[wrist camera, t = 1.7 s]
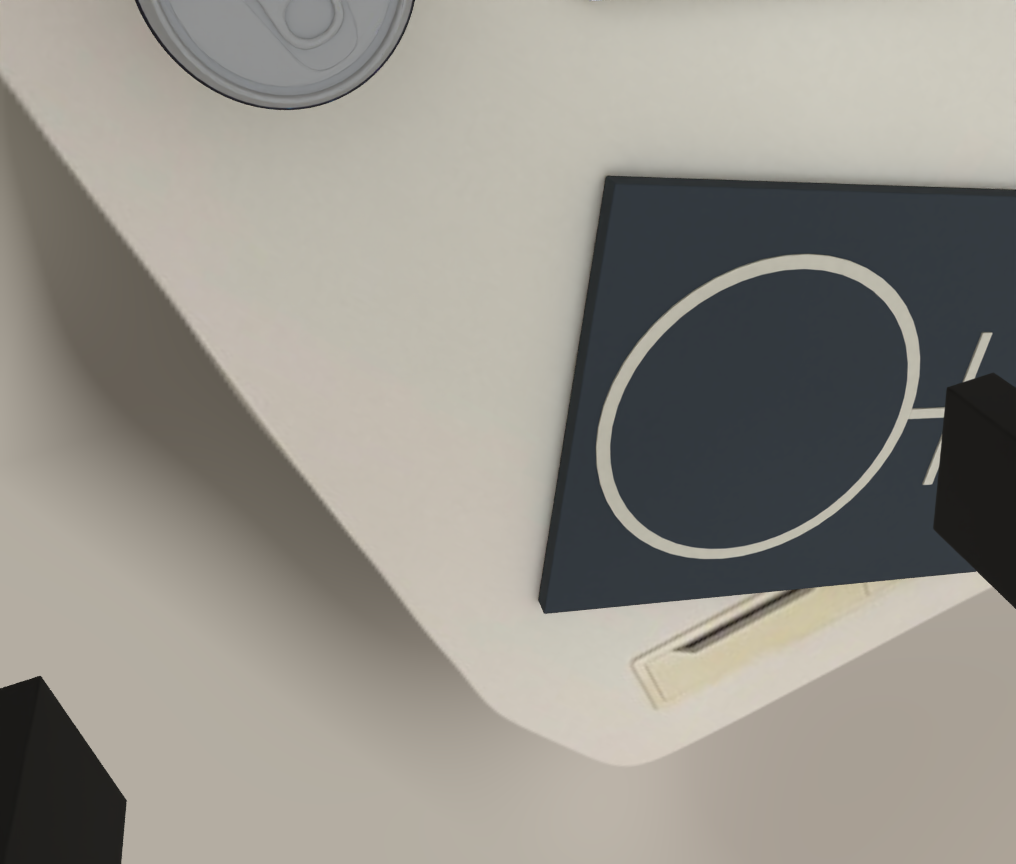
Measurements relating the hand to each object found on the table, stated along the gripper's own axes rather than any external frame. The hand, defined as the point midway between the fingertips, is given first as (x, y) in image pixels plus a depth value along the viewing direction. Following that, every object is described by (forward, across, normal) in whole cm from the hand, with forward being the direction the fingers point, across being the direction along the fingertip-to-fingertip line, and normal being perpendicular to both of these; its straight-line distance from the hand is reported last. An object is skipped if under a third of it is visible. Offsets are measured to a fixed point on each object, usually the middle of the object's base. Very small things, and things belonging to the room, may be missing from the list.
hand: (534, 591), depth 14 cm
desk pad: (+22, +17, -16) cm, 32 cm away
